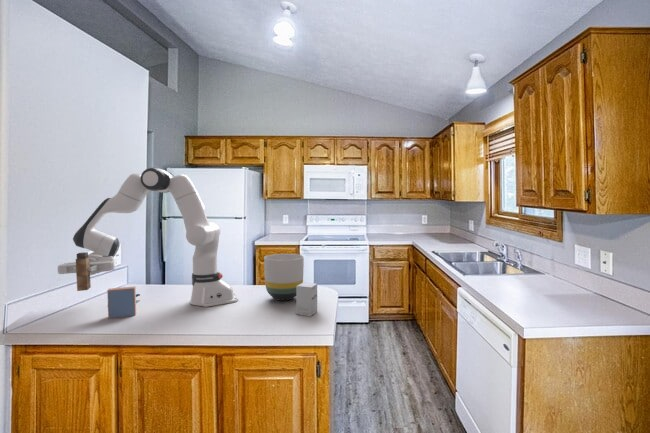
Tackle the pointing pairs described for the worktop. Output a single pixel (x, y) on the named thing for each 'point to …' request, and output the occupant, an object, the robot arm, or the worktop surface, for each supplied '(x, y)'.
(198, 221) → the robot arm
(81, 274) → the brown pepper mill
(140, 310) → the worktop surface
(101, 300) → the worktop surface
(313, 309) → the supplement box
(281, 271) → the planter
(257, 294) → the worktop surface
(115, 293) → the tile
